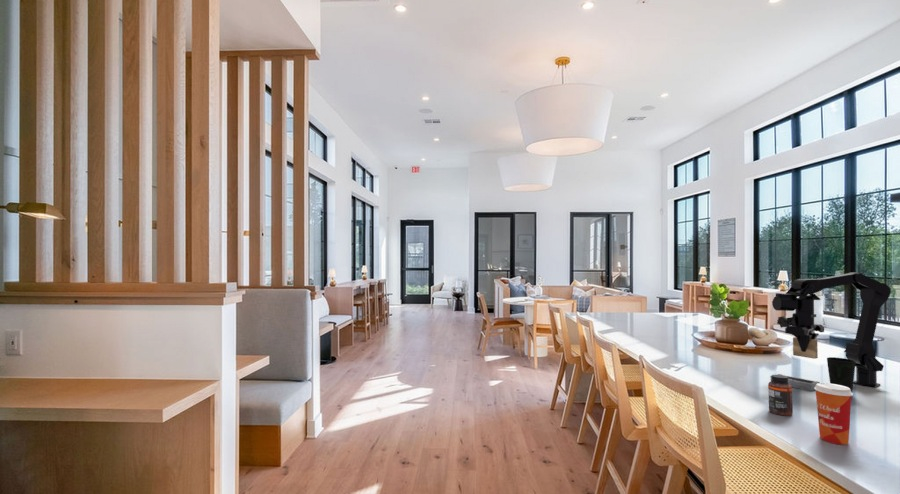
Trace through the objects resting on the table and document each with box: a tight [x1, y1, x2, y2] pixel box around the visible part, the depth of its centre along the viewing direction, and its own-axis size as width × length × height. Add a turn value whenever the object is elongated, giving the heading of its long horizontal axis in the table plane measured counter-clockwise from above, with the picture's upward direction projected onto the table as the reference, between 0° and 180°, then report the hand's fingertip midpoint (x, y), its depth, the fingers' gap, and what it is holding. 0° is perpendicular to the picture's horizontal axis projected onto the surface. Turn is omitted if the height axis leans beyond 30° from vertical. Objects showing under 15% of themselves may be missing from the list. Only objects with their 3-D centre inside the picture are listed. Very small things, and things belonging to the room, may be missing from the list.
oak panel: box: [792, 336, 819, 360], centre depth 171 cm, size 2×7×7 cm, turn 31°
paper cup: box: [814, 382, 854, 446], centre depth 114 cm, size 8×8×14 cm
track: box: [770, 373, 821, 392], centre depth 166 cm, size 7×13×2 cm, turn 31°
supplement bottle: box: [767, 374, 794, 417], centre depth 135 cm, size 6×6×11 cm
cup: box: [826, 356, 856, 393], centre depth 156 cm, size 8×8×12 cm
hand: (805, 351), depth 171 cm, fingers closed on oak panel, 2 cm apart
